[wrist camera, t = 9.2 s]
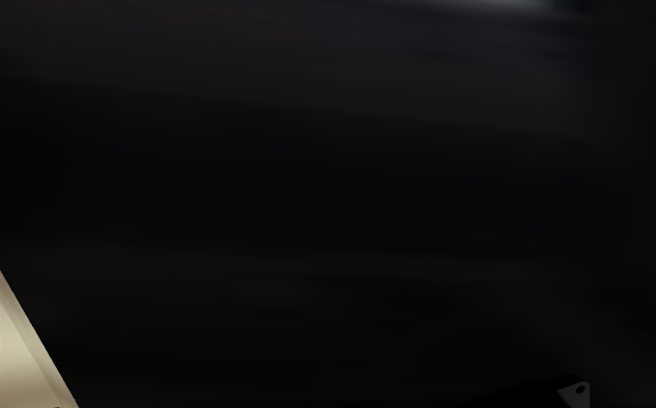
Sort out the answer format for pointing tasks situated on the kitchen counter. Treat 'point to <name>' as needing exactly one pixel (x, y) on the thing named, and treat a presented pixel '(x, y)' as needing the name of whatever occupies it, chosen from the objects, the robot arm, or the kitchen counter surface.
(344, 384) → the kitchen counter surface
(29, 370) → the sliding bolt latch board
